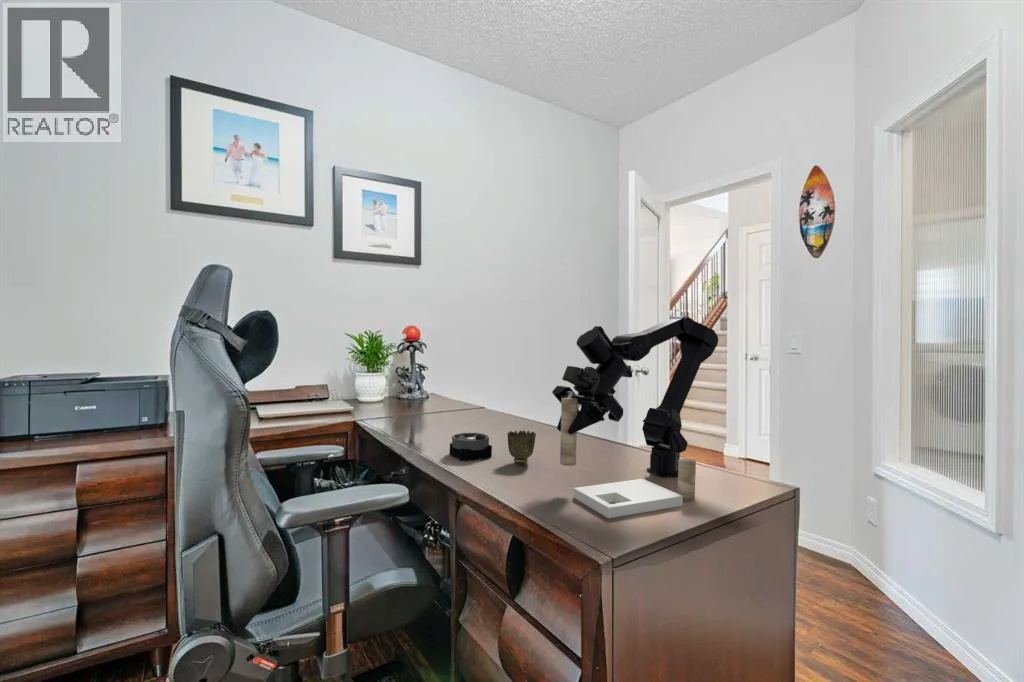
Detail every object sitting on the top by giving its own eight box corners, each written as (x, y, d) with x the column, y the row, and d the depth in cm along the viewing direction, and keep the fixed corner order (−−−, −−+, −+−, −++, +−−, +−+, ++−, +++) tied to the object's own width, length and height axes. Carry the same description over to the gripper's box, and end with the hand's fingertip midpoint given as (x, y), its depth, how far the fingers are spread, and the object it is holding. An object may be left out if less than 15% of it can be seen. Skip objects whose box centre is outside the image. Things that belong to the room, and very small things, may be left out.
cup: (508, 458, 129) (509, 429, 129) (536, 460, 128) (536, 430, 128) (504, 466, 121) (505, 435, 121) (533, 468, 120) (534, 436, 120)
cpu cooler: (461, 441, 124) (445, 433, 133) (461, 463, 124) (445, 454, 133) (496, 437, 129) (479, 430, 138) (496, 458, 129) (478, 450, 138)
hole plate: (642, 487, 107) (642, 478, 107) (682, 505, 97) (682, 495, 96) (573, 497, 100) (573, 488, 100) (608, 518, 89) (608, 507, 89)
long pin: (569, 460, 106) (571, 397, 106) (579, 464, 103) (580, 399, 103) (556, 462, 105) (558, 398, 104) (565, 466, 102) (567, 400, 101)
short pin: (686, 495, 103) (687, 457, 103) (698, 500, 100) (699, 461, 100) (673, 496, 102) (675, 459, 102) (685, 502, 99) (687, 463, 99)
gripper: (559, 351, 113) (518, 400, 108) (614, 355, 97) (569, 413, 92) (585, 383, 118) (546, 432, 112) (641, 392, 102) (600, 450, 96)
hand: (563, 431), depth 103 cm, fingers closed on long pin, 3 cm apart
